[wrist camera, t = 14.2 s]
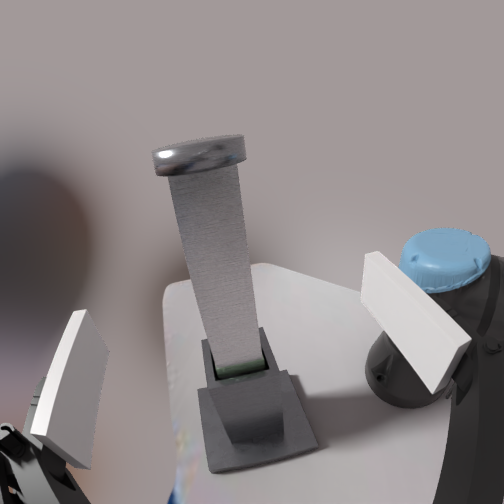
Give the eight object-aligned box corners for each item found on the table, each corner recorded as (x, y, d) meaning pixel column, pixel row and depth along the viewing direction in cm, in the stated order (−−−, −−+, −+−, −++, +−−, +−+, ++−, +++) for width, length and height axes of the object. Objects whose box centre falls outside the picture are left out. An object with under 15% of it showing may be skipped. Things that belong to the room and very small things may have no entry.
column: (216, 378, 33) (156, 147, 21) (265, 368, 34) (235, 133, 22) (224, 419, 28) (145, 156, 15) (279, 407, 29) (252, 137, 16)
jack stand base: (199, 394, 40) (169, 320, 33) (286, 375, 42) (282, 297, 35) (211, 473, 28) (171, 420, 20) (317, 448, 30) (329, 385, 22)
